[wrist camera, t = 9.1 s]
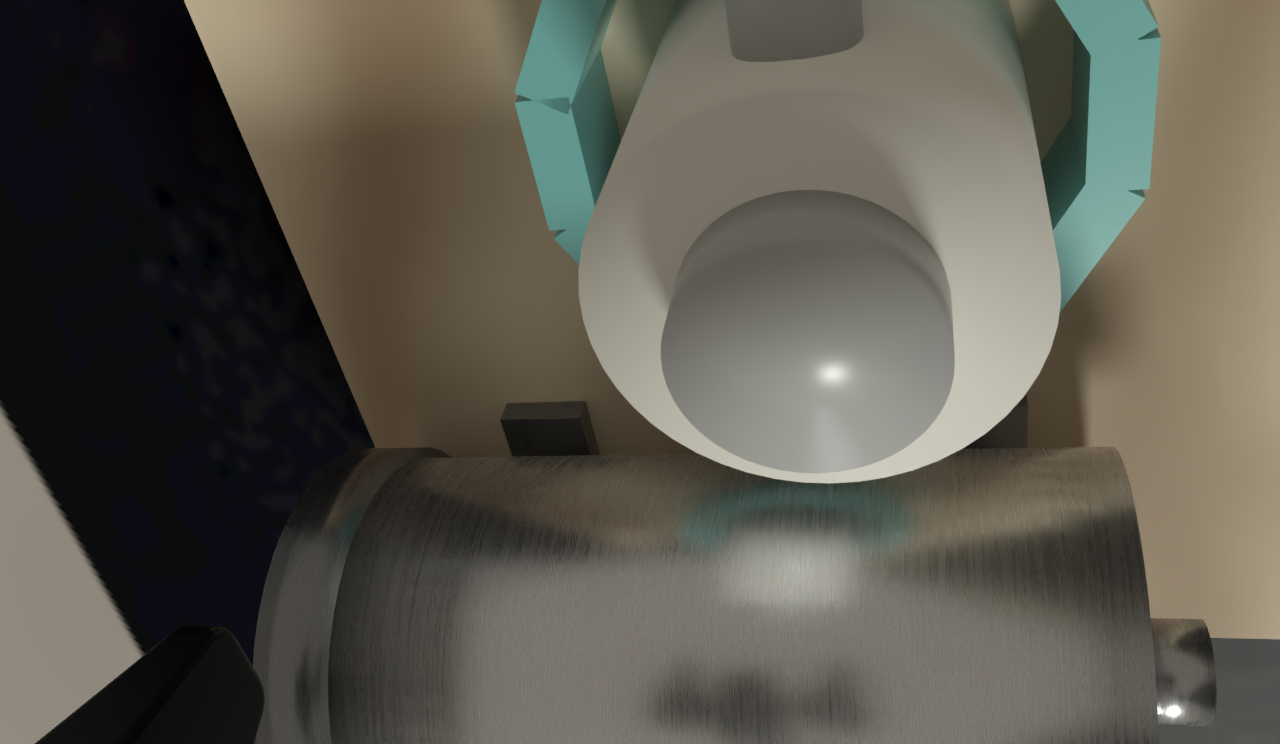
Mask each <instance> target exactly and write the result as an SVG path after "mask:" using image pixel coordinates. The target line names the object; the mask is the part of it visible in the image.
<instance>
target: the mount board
mask: <svg viewBox="0 0 1280 744" xmlns="http://www.w3.org/2000/svg"><path fill="white" fill-rule="evenodd" d="M184 1H185V4H186V6H187V8H188V11H189V13H190V15H191V18H192V20H193V22H194V25H195V27H196V29H197V32H198V34H199V36H200V39H201V41H202V43H203V46H204V48H205V50H206V53H207V55H208V57H209V60H210V62H211V64H212V67H213V69H214V72H215V74H216V76H217V79H218V81H219V83H220V86H221V88H222V90H223V93H224V95H225V97H226V100H227V102H228V104H229V107H230V109H231V111H232V114H233V116H234V118H235V121H236V123H237V125H238V128H239V130H240V132H241V135H242V137H243V139H244V142H245V144H246V146H247V149H248V151H249V153H250V156H251V158H252V160H253V163H254V165H255V167H256V170H257V172H258V174H259V177H260V179H261V181H262V184H263V186H264V188H265V191H266V193H267V195H268V198H269V200H270V202H271V205H272V207H273V209H274V212H275V214H276V216H277V219H278V221H279V223H280V226H281V228H282V230H283V233H284V235H285V237H286V240H287V242H288V244H289V247H290V249H291V251H292V254H293V256H294V258H295V261H296V263H297V265H298V268H299V270H300V272H301V275H302V277H303V279H304V282H305V284H306V286H307V289H308V291H309V293H310V296H311V298H312V301H313V303H314V305H315V308H316V310H317V312H318V315H319V317H320V319H321V322H322V324H323V326H324V329H325V331H326V333H327V336H328V338H329V340H330V343H331V345H332V347H333V350H334V352H335V354H336V357H337V359H338V361H339V364H340V366H341V368H342V371H343V373H344V375H345V378H346V380H347V382H348V385H349V387H350V389H351V392H352V394H353V396H354V399H355V401H356V403H357V406H358V408H359V410H360V413H361V415H362V417H363V420H364V422H365V424H366V427H367V429H368V431H369V434H370V436H371V438H372V441H373V443H374V445H375V448H420V447H431V448H435V449H438V450H442V451H443V452H445V453H447V454H448V455H450V456H452V457H453V458H459V457H512V454H511V451H510V448H509V445H508V442H507V439H506V436H505V433H504V430H503V428H502V425H501V422H500V419H501V416H502V414H503V412H504V409H505V407H506V404H507V403H532V402H566V401H586V405H587V408H588V412H589V415H590V419H591V423H592V426H593V430H594V433H595V437H596V441H597V444H598V448H599V451H600V455H638V454H697V453H696V452H694V451H692V450H691V449H689V448H687V447H685V446H684V445H682V444H680V443H678V442H677V441H675V440H673V439H672V438H671V437H669V436H668V435H666V434H665V433H664V432H662V431H661V430H659V429H658V428H657V427H655V426H654V425H653V424H651V423H650V422H649V421H648V420H647V419H646V418H645V417H644V416H643V415H641V414H640V413H639V412H638V411H637V410H636V409H635V408H634V407H633V406H632V405H631V404H630V403H629V402H628V401H627V399H626V398H625V397H624V396H623V395H622V394H621V392H620V391H619V390H618V389H617V388H616V387H615V385H614V384H613V382H612V381H611V379H610V378H609V376H608V375H607V373H606V372H605V370H604V369H603V367H602V365H601V363H600V361H599V359H598V357H597V355H596V353H595V351H594V349H593V347H592V345H591V343H590V340H589V337H588V334H587V331H586V328H585V325H584V322H583V317H582V311H581V306H580V300H579V282H578V270H579V264H578V263H577V262H576V261H575V260H574V259H573V258H572V257H571V256H570V255H569V254H568V253H567V252H566V251H565V250H564V249H563V248H562V247H561V246H560V244H559V243H558V242H557V241H556V240H555V239H554V237H555V234H556V232H557V230H551V231H549V228H548V224H547V221H546V217H545V213H544V210H543V206H542V202H541V199H540V195H539V191H538V188H537V184H536V180H535V177H534V173H533V169H532V165H531V162H530V158H529V154H528V151H527V147H526V143H525V140H524V136H523V132H522V129H521V125H520V121H519V118H518V114H517V110H516V107H515V103H514V102H515V101H516V99H517V97H518V96H519V95H518V94H516V93H515V89H516V86H517V82H518V79H519V76H520V72H521V69H522V66H523V62H524V59H525V55H526V52H527V49H528V45H529V42H530V39H531V35H532V32H533V29H534V25H535V22H536V18H537V15H538V12H539V8H540V5H541V2H542V0H184ZM677 1H678V0H617V2H616V5H615V8H614V11H613V13H612V16H611V19H610V22H609V25H608V28H607V31H606V34H605V37H604V40H603V43H602V46H601V51H602V55H603V60H604V65H605V69H606V74H607V78H608V83H609V87H610V92H611V97H612V101H613V106H614V110H615V115H616V120H617V124H618V129H619V133H620V138H621V140H622V138H623V135H624V133H625V130H626V128H627V125H628V123H629V120H630V118H631V115H632V113H633V110H634V108H635V105H636V103H637V100H638V98H639V95H640V92H641V90H642V87H643V85H644V82H645V80H646V77H647V75H648V72H649V70H650V67H651V65H652V62H653V60H654V57H655V55H656V52H657V50H658V47H659V45H660V42H661V40H662V37H663V35H664V32H665V30H666V27H667V25H668V22H669V20H670V17H671V15H672V12H673V10H674V8H675V5H676V3H677ZM1148 1H1149V3H1150V6H1151V8H1152V11H1153V13H1154V16H1155V19H1156V21H1157V24H1158V26H1159V27H1158V31H1159V33H1160V36H1161V47H1160V59H1159V72H1158V85H1157V98H1156V111H1155V124H1154V137H1153V149H1152V162H1151V175H1150V188H1149V189H1143V191H1144V194H1145V198H1146V199H1145V200H1144V201H1143V203H1142V204H1141V205H1140V207H1139V208H1138V209H1137V211H1136V212H1135V213H1134V215H1133V216H1132V217H1131V219H1130V220H1129V221H1128V223H1127V224H1126V225H1125V227H1124V228H1123V229H1122V231H1121V232H1120V233H1119V235H1118V236H1117V237H1116V238H1115V240H1114V241H1113V242H1112V244H1111V245H1110V246H1109V248H1108V249H1107V250H1106V252H1105V253H1104V254H1103V256H1102V257H1101V258H1100V260H1099V261H1098V262H1097V264H1096V265H1095V266H1094V268H1093V269H1092V270H1091V272H1090V273H1089V274H1088V276H1087V277H1086V278H1085V280H1084V281H1083V282H1082V284H1081V285H1080V286H1079V288H1078V289H1077V290H1076V292H1075V293H1074V294H1073V296H1072V297H1071V298H1070V300H1069V301H1068V302H1067V304H1066V305H1065V306H1064V308H1063V309H1062V310H1061V312H1060V313H1059V320H1058V327H1057V330H1056V333H1055V337H1054V340H1053V343H1052V347H1051V350H1050V352H1049V354H1048V357H1047V359H1046V361H1045V363H1044V365H1043V367H1042V369H1041V371H1040V373H1039V375H1038V377H1037V378H1036V380H1035V381H1034V382H1033V384H1032V385H1031V387H1030V388H1029V390H1028V391H1027V393H1026V394H1027V404H1028V440H1027V448H1054V447H1115V448H1116V449H1117V450H1118V452H1119V454H1120V456H1121V458H1122V460H1123V463H1124V466H1125V469H1126V471H1127V475H1128V479H1129V483H1130V486H1131V490H1132V495H1133V500H1134V504H1135V509H1136V515H1137V520H1138V526H1139V531H1140V538H1141V544H1142V551H1143V558H1144V565H1145V573H1146V581H1147V589H1148V597H1149V607H1150V617H1151V618H1173V619H1203V620H1204V622H1205V623H1206V625H1207V628H1208V631H1209V635H1210V638H1248V639H1280V0H1148ZM1008 2H1009V5H1010V8H1011V11H1012V13H1013V17H1014V21H1015V26H1016V31H1017V36H1018V41H1019V46H1020V52H1021V57H1022V63H1023V69H1024V74H1025V80H1026V85H1027V91H1028V96H1029V102H1030V107H1031V113H1032V119H1033V124H1034V130H1035V135H1036V141H1037V146H1038V152H1039V157H1040V162H1041V161H1042V159H1043V158H1044V156H1045V155H1046V153H1047V152H1048V150H1049V149H1050V147H1051V146H1052V144H1053V143H1054V141H1055V140H1056V138H1057V137H1058V135H1059V134H1060V132H1061V131H1062V129H1063V128H1064V126H1065V125H1066V123H1067V122H1068V120H1069V119H1070V117H1071V104H1072V73H1073V41H1074V29H1073V27H1072V26H1071V24H1070V23H1069V21H1068V20H1067V18H1066V16H1065V15H1064V13H1063V12H1062V10H1061V9H1060V7H1059V6H1058V4H1057V3H1056V1H1055V0H1008Z"/></svg>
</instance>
